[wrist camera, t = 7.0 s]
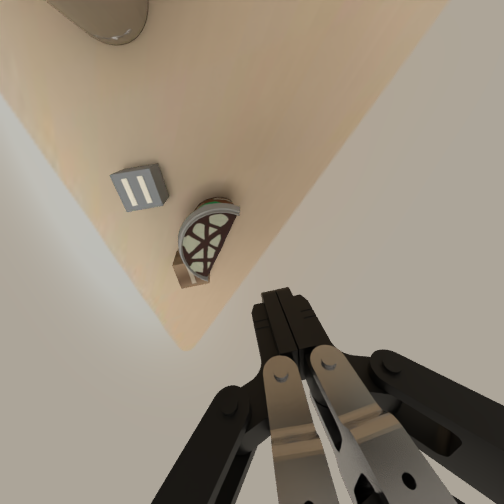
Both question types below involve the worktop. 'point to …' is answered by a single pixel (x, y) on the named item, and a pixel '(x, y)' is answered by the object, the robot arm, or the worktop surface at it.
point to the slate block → (140, 187)
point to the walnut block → (186, 274)
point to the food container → (205, 234)
